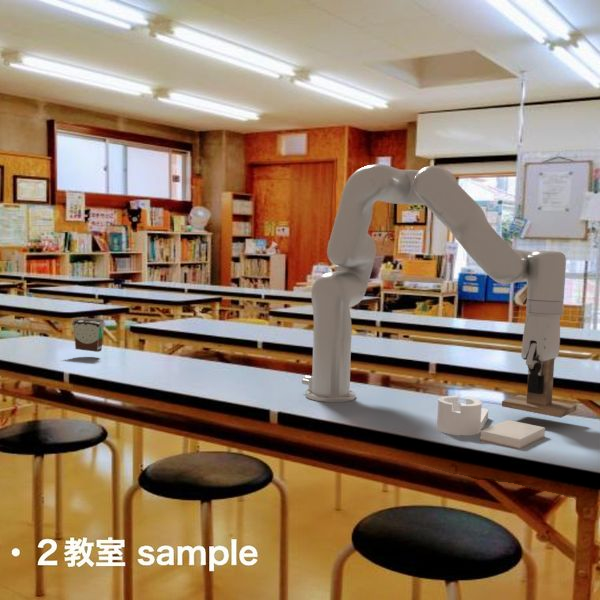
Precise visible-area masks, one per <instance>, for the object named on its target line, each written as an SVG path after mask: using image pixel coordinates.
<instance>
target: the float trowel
mask: <svg viewBox="0 0 600 600" xmlns="http://www.w3.org/2000/svg"><path fill="white" fill-rule="evenodd" d="M535 360H537V361H540V360H539V359H538V358H535ZM535 364H537V363H535ZM537 365H538V368H539V364H537ZM554 370H555V360H554V358H553V359H550V360H547V361H545V362H544V366H543V374H542V376H544V387H543V394H536V393H530V392H528V385H527V388H526V395H523V394H517V395H515V396H512V397H509V398H507V399H504V400H501V407H503V408H509V409H512V410H513V409H514V410H518V411H525V412H529V413H533V414H540V415H544V416H549V417H554V418H559V419H561V418H563V417H566V416H568V415H570V414H572V413H574V412H576V411H577V404H573V403H568V402H567V403H566V402H563V401H562V402H561V401H556V400H553V390H554V388H553V387H554V373H555V371H554ZM528 377H529V374H528V373H527V378H528Z"/></svg>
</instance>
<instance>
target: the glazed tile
mask: <svg viewBox="0 0 600 600" xmlns="http://www.w3.org/2000/svg"><path fill="white" fill-rule="evenodd" d="M545 431H546V427H544V426H541V425H534V424H530V423H525V422H519V421H514V420H511V419H506V420H503V421H500V422H499V423H497V424H494V425H491V426H489V427H486V428H484V429H482V430H481V431H480V434H481V436H479V438H480V441H481V440H482V442H485V441H487V442H486V443H490V442H492V443H491V444H495V443H496V445H499V444H501V445H500V446H504V445H505V447H509V446H510V447H509V448H514V449H518V448H519V449H518V450H520V449H522V448H524V447H526V446H528V445H530V443H531V444H532V442H533V443H534V442H537V441H539V440H541V439H544V438H545V437H546V434H545V433H546V432H545Z"/></svg>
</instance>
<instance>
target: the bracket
mask: <svg viewBox="0 0 600 600" xmlns="http://www.w3.org/2000/svg"><path fill="white" fill-rule="evenodd" d="M459 401H460V396H459V395H445V396H440V397H438V399H437V419H436V430H437V431H438V430H439V431H438V432H440V431H441V432H440V433H443V432H444V433H443V434H446V433H447V435H451V434H452V436H460V435H469V436H476V435H478V434H479V435H480V434H481V431H482V430H483V427H485V425H486V423H487V421H488V418H489V409H487V408H485V407H482V406H483V403H482V401H481V400H479V399H477V398H474V397H468V396H467V397H466V398H465V402H464V403H463V402H459ZM481 429H482V430H481ZM475 434H476V435H475Z"/></svg>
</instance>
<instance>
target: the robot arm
mask: <svg viewBox="0 0 600 600" xmlns="http://www.w3.org/2000/svg"><path fill="white" fill-rule="evenodd" d="M376 202H382V203H383V202H384V203H388V204H393V205H395V204H396V205H421V206H422V205H424V206H426V208H427V209H428V210H429V211H431V213H433V215H434V216H435V217H436V218H437V219H438V220H439V221H440V222H441V223H442V224H443V226H445V228H447V230H449V232H450V234H452V235H453V236H454V238H455V240H456V241H457V242H458V243H459V244H460V245H461V247H462V249H464V250H465V251H466V253H467V254H468V255H469V257H470V258H471V259H472V260H473V261H474V262H475V263H476V264H477V266H479V268H480V269H482V270H483V272H485V274H487V276H489V278H490V279H492V280H493V281H494V282H496V283H497V284H501V285H512V284H516V283H523V282H524V283H525V282H526V283H527V292H526V306H525V307H526V309H525V315H526V318H525V322H524V325H523V326H524V327H523V336H522V343H521V353H520V356H521V359H522V360H525V365H526V366H527V368H528V369H527V375H528V374H529V377H528V376H527V386H528V392H530V393H536V394H543V387H544V376H542V374H543V366H544V362H545V361H547V360H550V359H553V358H554V361H555V360H556V358H557V357H559V354H560V344H561V317H563V316H564V315H563V312H564V300H565V297H564V296H565V285H566V284H565V283H566V268H567V267H566V266H567V258H566V255H565V253H563V252H562V251H554V250H553V251H550V250H539V251H538V250H537V251H527V250H521V249H515V248H512V247H511V246H510V245H509V243H507V242H506V241H505V240H504V238H502V237H501V236H500V234H498V232H497V231H496V230H495V229H494V228H493V226H492V225H491V224H490V222H489V221H488V219H487V217H486V214H485V212H484V210H483V208H482V207H481V206H480V204H478V203H477V201H475V200H474V199H473V197H471V196H470V195H469V194H468V193H467V191H465V189H463V188H462V187H461V185H459V183H458V181H457V178H456V176H455V175H454V174H453V173H452V172H451V171H450V170H448V169H445V168H443V167H440V166H438V165H428V166H424V167H422V168H420V169H400V168H397V167H393V166H391V165H387V164H383V163H375V164H369V165H366V166H364V167H361V168H358V169H357V170H356V171H355V172H353V173H352V174H351V175H350V176H349V178H348V179H347V181H346V182H345V184H344V187H343V189H342V194H341V197H340V202H339V205H338V208H337V213H336V216H335V219H334V223H333V227H332V230H331V233H330V238H329V241H328V245H327V248H326V254H327V259H328V260H329V262H330V263H331V264H332V265H334V266H335V267H336V269H335V271H329V272H325V273H323V274H321V275H320V276H318V277H317V278H316V280H315V281H314V282H313V285H312V289H311V295H310V296H311V306H312V313H313V338H312V339H313V343H312V367H311V368H312V370H311V371H312V373H311V376H310V375H305V376H304V378H303V379H302V380H301V384H302V385H304V386H305V385H306V386H308V389H306V391H305V394H304V396H305V398H307V399H309V400H312V401H316V402H324V403H344V402H350V401H351V402H352V401H353V400H355V399H356V392H354V391H353V390H351V389H350V386H351V355H352V330H353V329H352V317H351V310H350V309H351V308H352V307H355V306H356V305H359V303H361V301H362V300H363V299H364V296H365V295H366V292H367V289H368V287H369V282H370V278H371V276H372V275H371V274H372V271H373V267H374V264H375V260H376V256H377V255H376V254H377V247H376V242H375V240H374V238H373V236H371V235H370V234H369V228H370V226H371V223H372V219H373V212H374V210H373V209H374V205H375V203H376ZM535 358H538V359H539V360H540V361H537V360H535ZM535 363H537V364H539V368H538V365H537V364H535Z"/></svg>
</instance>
